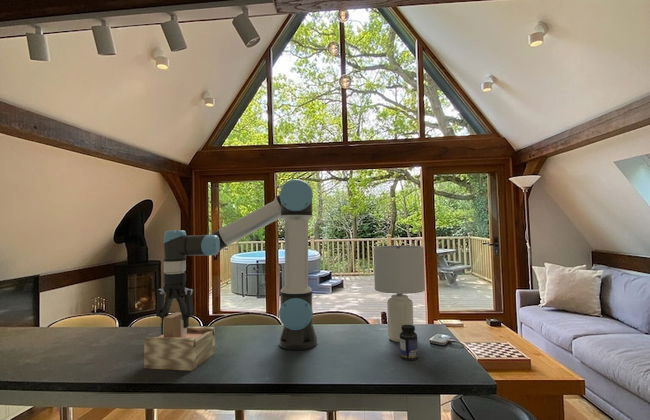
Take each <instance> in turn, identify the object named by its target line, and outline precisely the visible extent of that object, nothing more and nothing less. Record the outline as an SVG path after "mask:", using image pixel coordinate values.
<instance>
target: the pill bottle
mask: <svg viewBox="0 0 650 420" xmlns="http://www.w3.org/2000/svg"><path fill="white" fill-rule="evenodd" d="M413 325H414V324H413ZM413 325H402V326H401V329H402V332H401V333H400V342H399V351H400V355H399V356H400V358H401V359H403V360H406V361H415V360H417V359H418V358H419V352H418V351H419V350H418V349H419V348H418V346H419V345H418V334H417V333H416V332H415V330H416V326H415V325H414V326H413Z"/></svg>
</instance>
